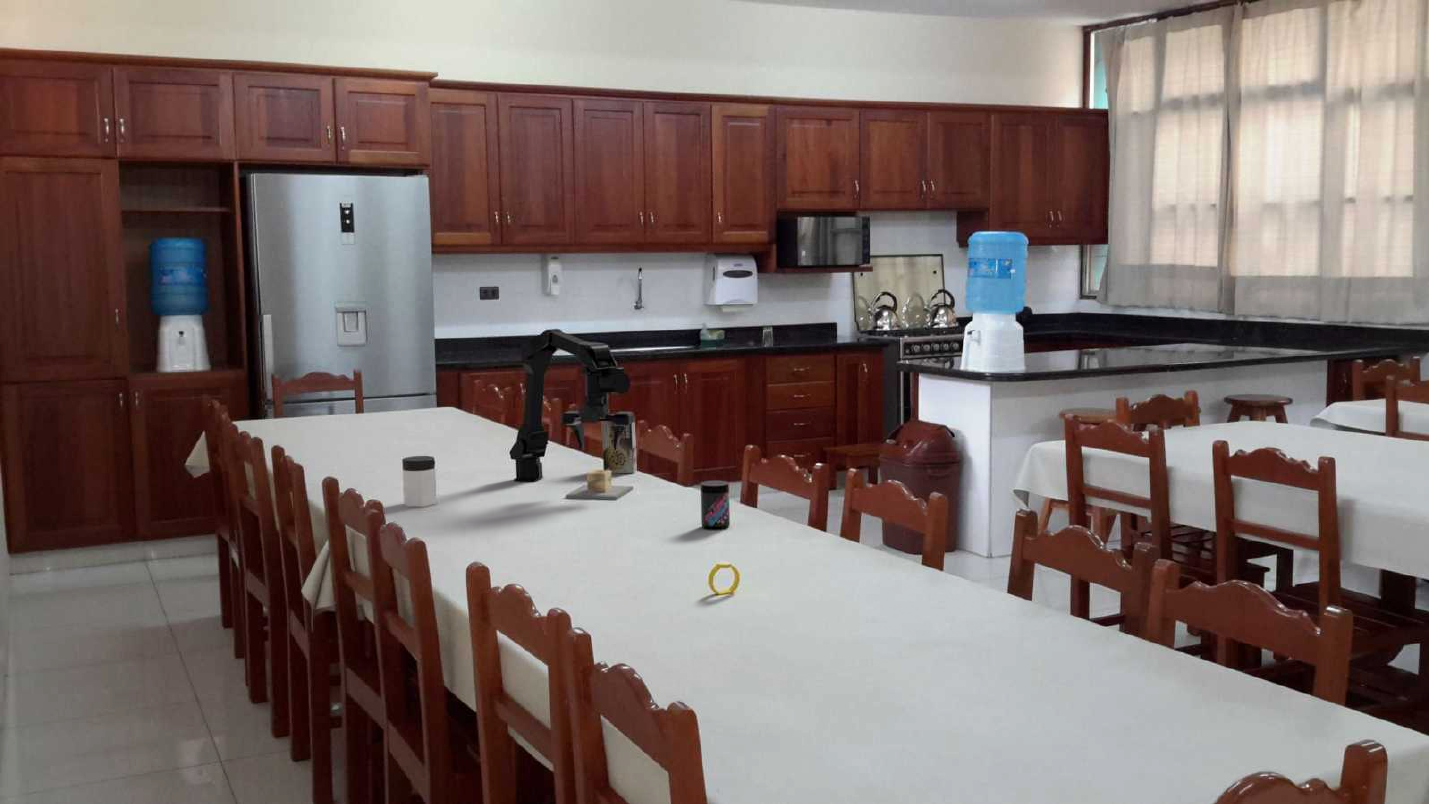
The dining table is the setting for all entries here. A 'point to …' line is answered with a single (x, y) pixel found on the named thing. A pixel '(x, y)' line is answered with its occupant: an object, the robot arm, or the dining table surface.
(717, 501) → the supplement container
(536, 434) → the robot arm
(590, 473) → the maple cube
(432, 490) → the jar
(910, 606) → the dining table surface
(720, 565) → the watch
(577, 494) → the mat
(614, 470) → the coffee box
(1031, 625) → the dining table surface
